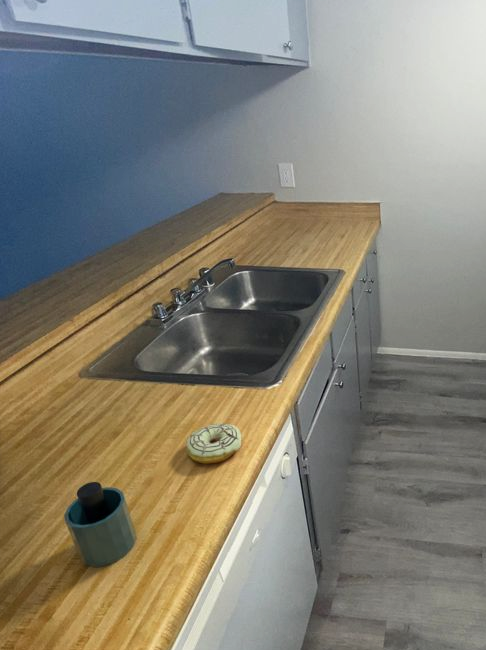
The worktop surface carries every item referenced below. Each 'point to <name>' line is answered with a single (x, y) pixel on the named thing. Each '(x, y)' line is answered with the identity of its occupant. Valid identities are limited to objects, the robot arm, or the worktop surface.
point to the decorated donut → (213, 443)
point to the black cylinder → (93, 502)
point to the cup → (102, 531)
